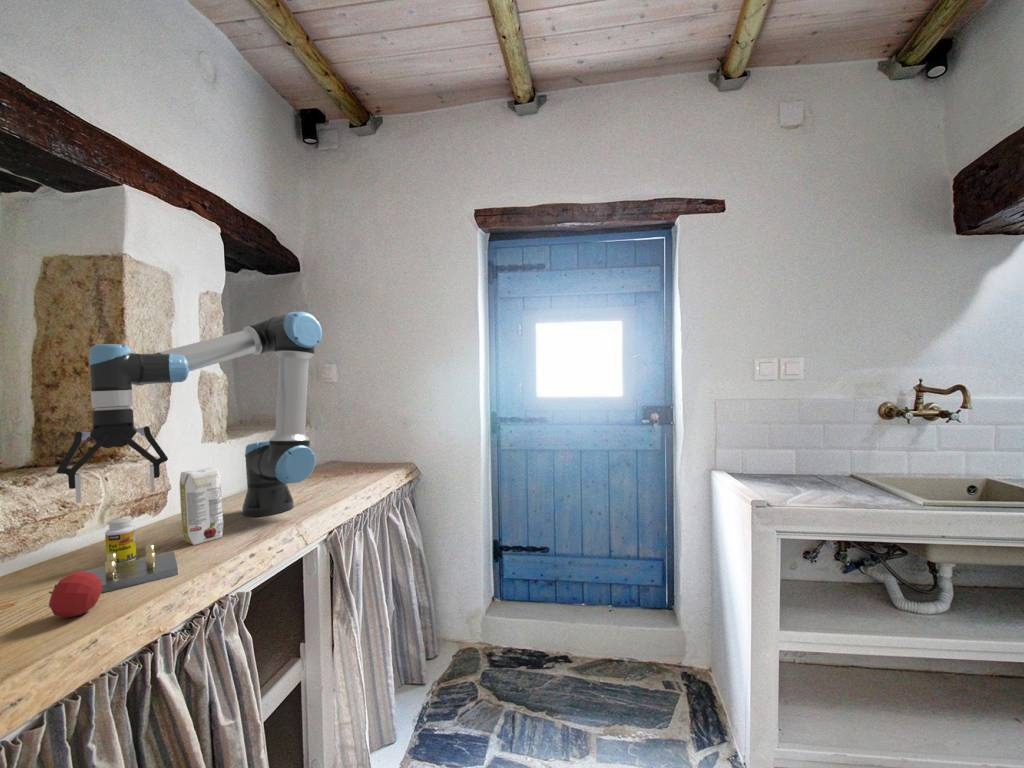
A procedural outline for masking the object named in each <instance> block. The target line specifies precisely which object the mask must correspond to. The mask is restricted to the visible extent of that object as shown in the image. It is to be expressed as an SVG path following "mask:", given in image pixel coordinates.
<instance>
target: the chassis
mask: <svg viewBox="0 0 1024 768" xmlns="http://www.w3.org/2000/svg"><path fill="white" fill-rule="evenodd" d="M144 549H145V557H142V558H136V559H135V560H132V561H128V562H123V563H118V564H117V560H116V552H113V553H109V554H107V560H106V561H105V562H104V566H101V567H97V568H93V569H92V568H91V569H87V570H85V572H89V573H94V574H96V575H97V576H98V577H99V578H100V580H101V581H102V590H101V594H102V593H103V594H104V593H107V592H111V591H114V590H115V591H116V590H118V589H124V588H128V587H132V586H135V585H140V584H144V583H148V582H151V581H152V582H153V581H156V580H157V581H158V580H161V579H165V578H169V577H173V576H176V575H179V570H178V569H179V568H178V563H177V559H176V554H175V551H170V552H166V553H160V554H156V552H155V545H154V544H148V545H145V548H144Z"/></svg>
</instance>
